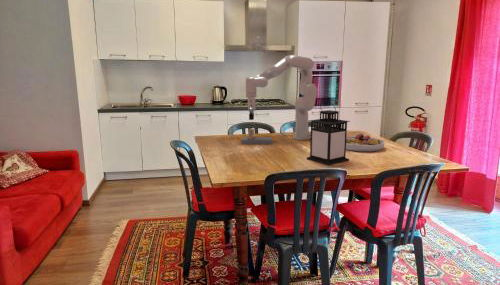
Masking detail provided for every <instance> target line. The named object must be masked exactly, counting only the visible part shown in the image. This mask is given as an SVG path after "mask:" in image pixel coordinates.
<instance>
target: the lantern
mask: <svg viewBox="0 0 500 285" xmlns="http://www.w3.org/2000/svg"><path fill="white" fill-rule="evenodd" d="M324 102H325V100H322V101H321V102H320V107H319V108H320V111H318V112H319V118H318V119H311V120H309V119H308V122H310V134H311V136H310V142H309V143H310V144H309V146H310V147H309V151H310V152H309V153H310V154H309V156H307V157H306V160H307V161H311V162H315V163H318V164H319V163H320V164H323V165H326V166H332V165H337V164H342V163H345V162H348V161H350V159H349V158H347V157H346V156H347V155H346V153H347V152H346V151H347V150H346V142H347V141H346V137H347V135H348V134H347V130H348V122H351V120H344V119H339V115H340V114H339V113H340V111H339V110H337V109H336V106H335V105H334V104H333V103H332V102H330V101H329V100H326V102H327V103H330V104H331V105H332V106H333V108H334V109H335V110H330V109H329V110H328V109H327V110H322V103H324Z"/></svg>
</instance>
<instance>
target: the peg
mask: <svg viewBox="0 0 500 285" xmlns="http://www.w3.org/2000/svg"><path fill="white" fill-rule="evenodd" d="M248 137H249V139H254V137H255V128H248Z"/></svg>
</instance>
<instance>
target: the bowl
mask: <svg viewBox="0 0 500 285" xmlns="http://www.w3.org/2000/svg"><path fill="white" fill-rule="evenodd" d="M346 141H347V142H346V151H350V152H351V151H352V152H363V153H364V152H365V153H368V152H369V153H371V152H377V151H380V150H382V149H383V148H384V147H385V141H384V140H382V139H379V138H376V137H375V138H374V137H370V135H368V134H367V135H364V134H363V133H357V134H356V136H346Z"/></svg>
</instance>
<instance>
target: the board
mask: <svg viewBox="0 0 500 285" xmlns="http://www.w3.org/2000/svg"><path fill="white" fill-rule="evenodd" d="M240 142H241V144H240V145H273V137H272V136H254V139H249V136H242V137H241V140H240Z"/></svg>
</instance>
